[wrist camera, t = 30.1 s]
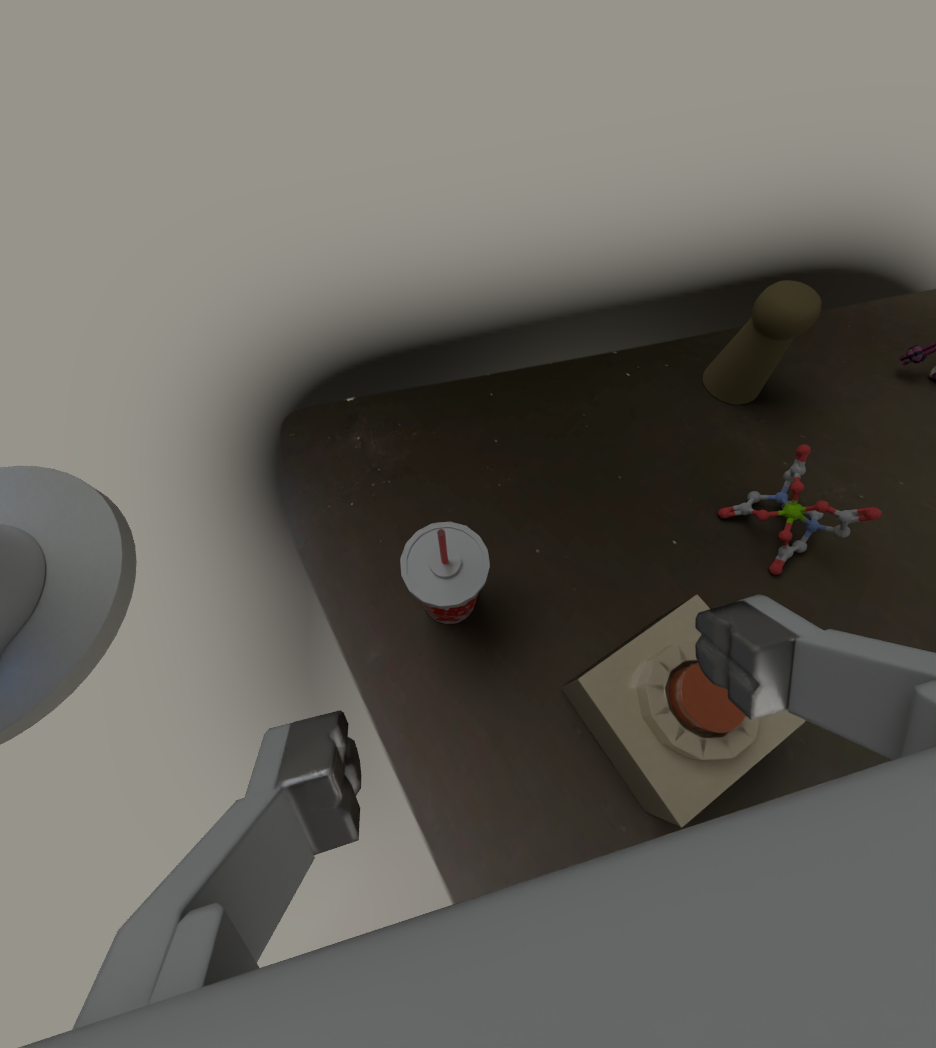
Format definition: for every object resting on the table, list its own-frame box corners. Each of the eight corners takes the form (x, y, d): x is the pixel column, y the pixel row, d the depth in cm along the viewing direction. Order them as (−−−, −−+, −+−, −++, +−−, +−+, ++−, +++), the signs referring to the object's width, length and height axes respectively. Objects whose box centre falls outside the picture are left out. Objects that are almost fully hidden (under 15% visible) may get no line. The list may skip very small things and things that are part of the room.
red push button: (699, 746, 28) (714, 747, 26) (655, 687, 29) (665, 685, 28) (746, 708, 29) (762, 707, 27) (700, 653, 30) (714, 648, 28)
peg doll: (771, 395, 49) (850, 307, 39) (723, 411, 48) (791, 325, 38) (738, 354, 51) (804, 262, 41) (691, 369, 50) (748, 278, 40)
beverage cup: (399, 593, 39) (367, 527, 27) (454, 550, 41) (448, 469, 28) (444, 649, 37) (432, 605, 25) (499, 601, 39) (515, 538, 26)
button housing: (644, 812, 33) (695, 834, 25) (560, 687, 36) (584, 676, 29) (752, 722, 35) (826, 719, 28) (663, 614, 39) (709, 586, 31)
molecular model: (766, 476, 44) (820, 430, 38) (831, 542, 42) (902, 504, 35) (711, 511, 43) (757, 469, 36) (774, 581, 40) (838, 550, 33)
